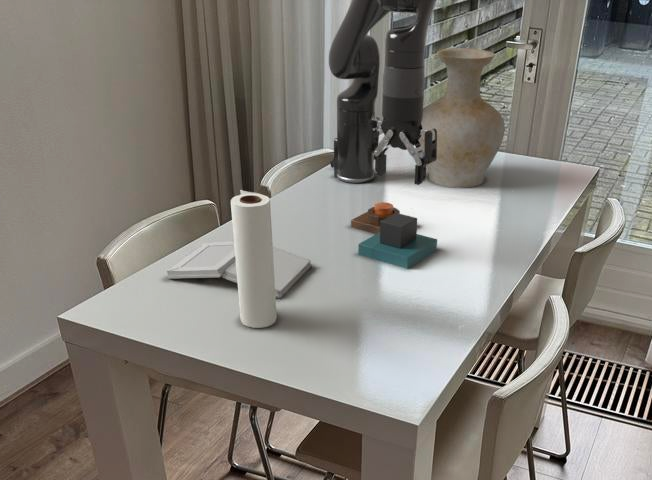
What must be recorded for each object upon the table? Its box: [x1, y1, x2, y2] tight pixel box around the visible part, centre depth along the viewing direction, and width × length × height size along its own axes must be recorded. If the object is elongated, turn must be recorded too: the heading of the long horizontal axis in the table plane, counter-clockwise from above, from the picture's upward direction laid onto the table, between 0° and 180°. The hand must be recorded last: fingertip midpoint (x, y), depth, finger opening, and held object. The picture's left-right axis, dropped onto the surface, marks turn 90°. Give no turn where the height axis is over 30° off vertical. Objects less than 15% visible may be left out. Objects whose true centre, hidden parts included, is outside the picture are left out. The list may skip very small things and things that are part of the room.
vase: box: [419, 47, 506, 189], centre depth 189 cm, size 22×22×30 cm
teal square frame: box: [357, 232, 438, 270], centre depth 156 cm, size 12×12×2 cm
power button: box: [374, 202, 394, 215], centre depth 166 cm, size 4×4×2 cm
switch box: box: [350, 206, 401, 235], centre depth 167 cm, size 11×9×4 cm
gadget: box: [166, 241, 312, 299], centre depth 145 cm, size 23×15×4 cm, turn 73°
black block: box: [380, 213, 418, 248], centre depth 155 cm, size 5×6×7 cm
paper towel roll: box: [230, 189, 278, 329], centre depth 125 cm, size 7×6×21 cm
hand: (399, 179), depth 148 cm, fingers open, 8 cm apart
